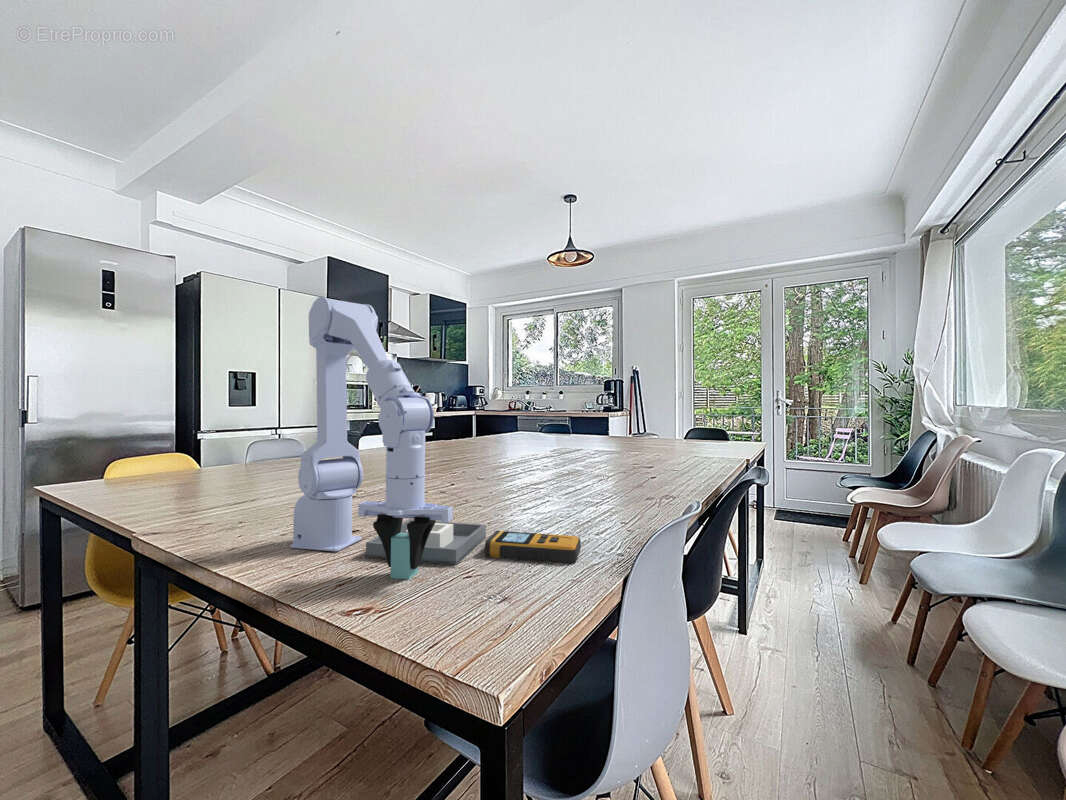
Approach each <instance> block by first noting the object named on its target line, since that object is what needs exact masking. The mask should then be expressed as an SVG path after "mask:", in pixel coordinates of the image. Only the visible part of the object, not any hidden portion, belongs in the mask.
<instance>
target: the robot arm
mask: <svg viewBox="0 0 1066 800" xmlns="http://www.w3.org/2000/svg"><path fill="white" fill-rule="evenodd" d="M378 322H379V317H378V315H377V314H376V311H375V308H374V307H373V306H372V305H370V304H367V303H363V304H361V303H356V302H349V301H344V300H338V299H335V298H334V299H333V298H327V297H326V296H319V297H317V298H316V299H315V300H314V302H313V303H312V306H311V307H310V310H309V312H308V338H309V339H308V341H309V345H310V346H311V347H313V348H314V349H315V352H316V353H315V354H316V355H315V356H316V358H315V359H316V362H315V364H316V366H315V367H316V369H315V370H316V427H317V428H316V436H317V437H316V439H317V441H316V442H314V444H312V445H311V446H310V447H308V448H307V449H306V450H305V451H304V452H302V454H301V457H300V465H299V469H298V473H297V481H298V482H297V483H298V487H299V490H300V491H301V492H302V493H303V495H302V496H301V497H299V498H298V499H297V500H296V503H295V505H294V508H293V509H294V510H293V523H292V524H293V525H292V526H293V527H292V529H293V531H292V532H293V535H292V536H293V539H292V541H293V543H292V544H290V545H289V547H290V548H291V549H303V550H304V549H305V550H312V551H314V550H315V551H324V552H325V551H327V552H340V551H341V550H343V549H345V548H347V547H350V546H351V545H353V544H355V543H357V542H359V541H360V540H362V536H358V535H353V496H354V495H356V494H357V490H358V489H359V488H360V487H361V484H362V482H363V480H364V470H363V469H364V467H363V465H362V463H361V455H360V450H359V449H357V448H356V447H355V446H354V445H353V444H351V443H349V441H348V413H347V411H348V407H347V406H348V405H347V403H348V402H347V401H348V400H347V399H348V398H347V395H348V394H347V356H348V355H349V354H350V352H353V351H355V350H356V352H357V353H358V355H359V356H360V358H361V359H362V361H363V363H364V364H365V366H366V367H367V371H366V373H365V381H366V383H367V385H368V388H369V389H370V390H371V393H372V394H373V397H374V399H375V400H376V402H377V405H378V406H379V408H380V409H379V415H377V418H378V419H377V420H378V426H379V429H380V430H381V435H382V443H383V446H384V447H385V448H386V450H385V451H386V453H385V455H386V456H385V501H361V502H360V503H358V506H357V507H358V511H357V513H358V515H357V516H358V517H361V518H362V517H363V518H364V517H365V518H366V517H368V516H369V517H377V518H376V520H375V521H374V522H373V523H372V526H373V529H374V530H375V532H376V534H377V535H378V536H379V538H380V540H381V542H382V544H383V547H384V550H385V553H386V557H387V559H386V561H387V566H388V568H391V537H393V536H395V535H397V534H398V533H400V532H401V526H402V523H403V521H404V519H408V520H414V521H412V522H410V523H408V524H407V529H408V534H409V540H410V567H411V569H416V568H417V567H418V568H419V567H420V566H421V564H422V562H421V559H422V555H423V551H424V547H425V544H426V542H427V539H428V537H429V534H430V532H431V530H432V528H433V526H434V524H435V522H436V521H438V522H451V521H452V520H453V518H454V517H453V514H454V513H453V512H454V511H453V508H454V507H453V506H448V505H441V504H436V503H431V502H430V503H429V502H425V499H426V498H425V495H426V488H425V487H426V483H425V482H426V434H427V433H428V432H429V431H430V430H431V429H432V427H433V425H434V424H433V423H434V420H435V416H434V415H435V414H434V412H435V411H434V408H433V405H432V404H431V403H432V402H431V401H430V399H429V398H428V397H426V396H422V395H421V394H420V393H419V392H415V389H413V386H412V384H411V383H410V381H409V379H408V378H407V376H406V374H405V372H404V371H403V368H402V366H401V364H400V363H399V362H397V361H395V360H393V359H389V357H388V355H387V353H386V351H385V348H384V345H383V344H382V341H381V339H380V337H379V336H380V335H379V334H378V332H377V330H378V329H377V328H378ZM340 457H342V458H340ZM326 458H327V459H326ZM329 458H330V459H329Z"/></svg>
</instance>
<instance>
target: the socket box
mask: <svg viewBox="0 0 1066 800" xmlns="http://www.w3.org/2000/svg"><path fill="white" fill-rule="evenodd" d="M412 521H414V519H407V520H406V521H404V522H402V526H401V532H402V533H408V529H407V524H408V523H410V522H412ZM486 529H487V525H486V524H482V523H481V524H479V523H466V522H465V523H464V522H451V521H449V522H442V521H439V520H436V522H435V524H434V526H433V528H432V530H431V532H430V534H429V537H428V539H427V542H426V544H425V547H424V551H423V555H422V559H421V563H428V564H440V565H452V566H457V565H458V564H459V563H460V562H461V561H462V560H464V558H466V556H468V555H469V554H470V552H472V551H473V550H474V549H475V548H476V547H478V545H480V544H481V543H482V542H483V541H484V540H485V539H486V534H487V533H486V532H487V530H486ZM365 558H368V559H380V560H381V559H383V560H387V557H386V553H385V550H384V547H383V544H382V542H381V540H380V538H379V536H376V537H373V538H372V539H370V540H368V541H367V542H365Z"/></svg>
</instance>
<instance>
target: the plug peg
mask: <svg viewBox="0 0 1066 800" xmlns="http://www.w3.org/2000/svg"><path fill="white" fill-rule="evenodd" d="M418 573H419V567H417V568H416V569H411V567H410V540H409V534H408V533H402V532H400V533H398V534H397V535H395V536H393V537H391V567H390V579H396V580H397V579H399V580H411V579H412V578H413V577H414V576H415V575H417V574H418Z"/></svg>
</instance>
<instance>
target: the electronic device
mask: <svg viewBox="0 0 1066 800" xmlns="http://www.w3.org/2000/svg"><path fill="white" fill-rule="evenodd" d="M581 547H582V543H581V538H580V537H577V536H576V535H563V534H552V533H550V534H548V533H536V532H533V533H532V532H523V531H521V532H520V531H510V530H509V531H508V530H507V531H506V530H505V531H504V530H495V531H494V532H493V533H492V534H491V535H490V536H489V537H488V538H487V539H486V540H485V542H484V557H486V558H496V559H497V558H498V559H507V560H517V561H518V560H519V561H528V562H529V561H532V562H542V563H544V562H545V563H557V564H567V565H573V564H576V562H577V561H578V558H579V554H580V552H581V549H582V548H581Z"/></svg>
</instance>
